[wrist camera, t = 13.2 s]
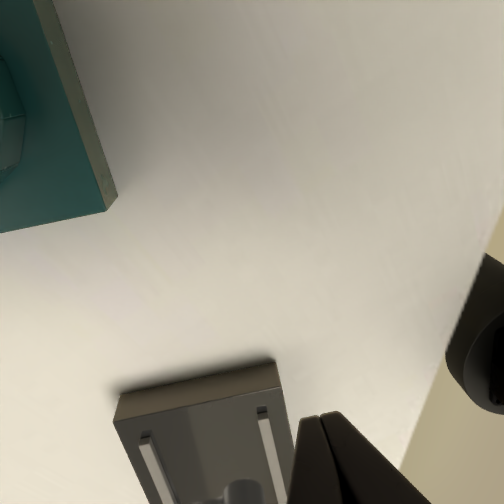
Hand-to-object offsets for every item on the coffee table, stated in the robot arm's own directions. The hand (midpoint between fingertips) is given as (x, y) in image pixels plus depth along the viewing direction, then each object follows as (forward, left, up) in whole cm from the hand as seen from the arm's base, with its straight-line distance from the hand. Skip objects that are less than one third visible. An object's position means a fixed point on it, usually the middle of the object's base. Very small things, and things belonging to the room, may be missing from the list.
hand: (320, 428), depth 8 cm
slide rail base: (+5, +17, -12) cm, 21 cm away
